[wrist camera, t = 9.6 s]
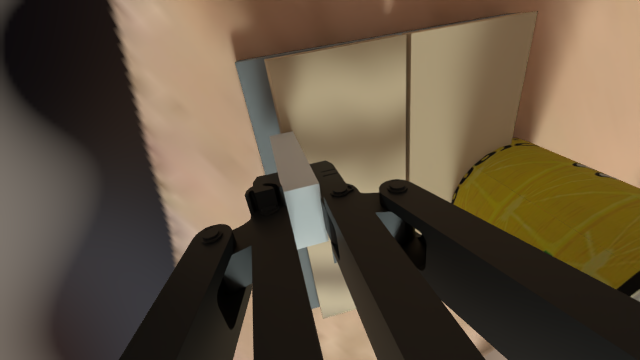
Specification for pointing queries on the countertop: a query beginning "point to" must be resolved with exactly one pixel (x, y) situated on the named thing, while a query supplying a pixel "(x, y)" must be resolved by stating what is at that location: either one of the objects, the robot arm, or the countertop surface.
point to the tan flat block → (346, 107)
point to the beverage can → (559, 210)
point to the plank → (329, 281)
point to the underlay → (431, 101)
